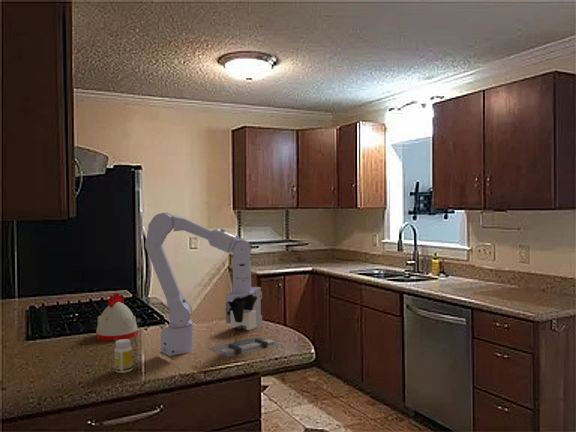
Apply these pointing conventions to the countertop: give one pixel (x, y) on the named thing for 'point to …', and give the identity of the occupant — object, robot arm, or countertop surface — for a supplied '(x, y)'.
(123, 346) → the supplement bottle
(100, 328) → the kitchen timer
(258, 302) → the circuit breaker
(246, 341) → the rail board
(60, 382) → the countertop surface
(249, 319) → the block
